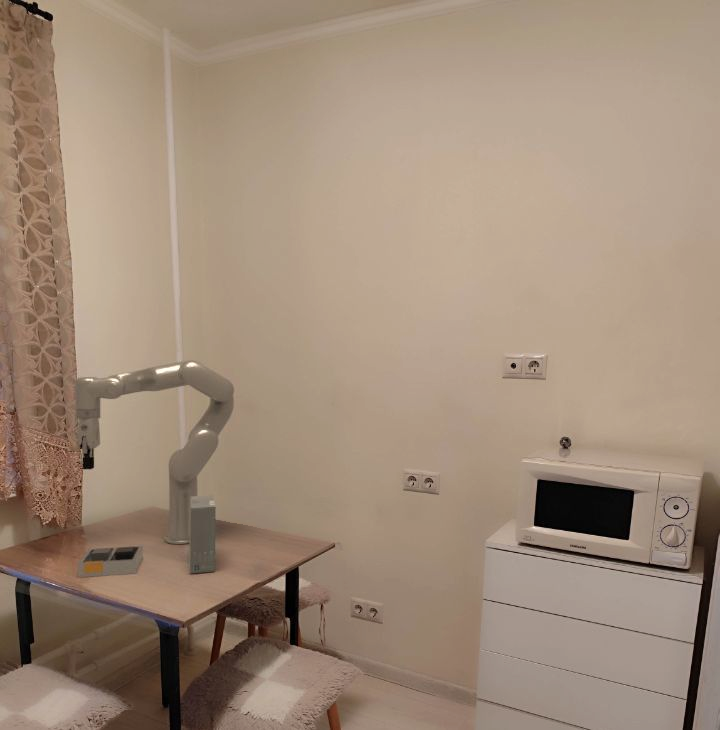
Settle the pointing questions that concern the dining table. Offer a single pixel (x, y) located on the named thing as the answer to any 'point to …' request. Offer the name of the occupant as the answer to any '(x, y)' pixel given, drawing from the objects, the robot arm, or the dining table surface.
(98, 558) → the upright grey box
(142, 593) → the dining table surface
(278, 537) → the dining table surface
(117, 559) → the grey divided tray
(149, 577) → the dining table surface
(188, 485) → the robot arm
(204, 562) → the hard drive box
